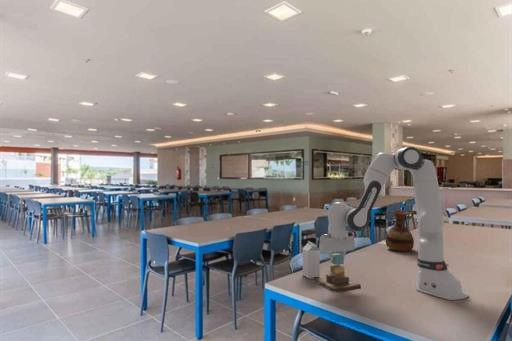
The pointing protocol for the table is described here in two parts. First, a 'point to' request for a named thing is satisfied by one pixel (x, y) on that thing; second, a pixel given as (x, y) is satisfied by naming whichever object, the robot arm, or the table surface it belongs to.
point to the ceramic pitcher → (399, 234)
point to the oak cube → (337, 271)
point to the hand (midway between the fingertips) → (337, 260)
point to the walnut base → (339, 287)
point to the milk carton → (311, 261)
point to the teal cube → (338, 259)
